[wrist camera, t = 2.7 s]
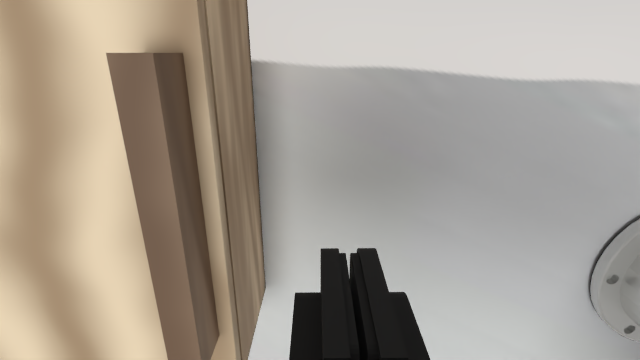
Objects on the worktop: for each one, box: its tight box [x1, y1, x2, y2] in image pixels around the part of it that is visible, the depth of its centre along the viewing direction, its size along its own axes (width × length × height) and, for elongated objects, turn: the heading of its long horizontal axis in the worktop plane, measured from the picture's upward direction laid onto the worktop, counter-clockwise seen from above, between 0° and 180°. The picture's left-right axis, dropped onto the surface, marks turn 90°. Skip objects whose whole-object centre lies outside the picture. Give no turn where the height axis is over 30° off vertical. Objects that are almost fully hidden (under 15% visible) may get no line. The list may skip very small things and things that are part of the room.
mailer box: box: [204, 0, 266, 360], centre depth 21 cm, size 16×22×8 cm
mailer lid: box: [0, 0, 241, 360], centre depth 15 cm, size 16×22×3 cm
